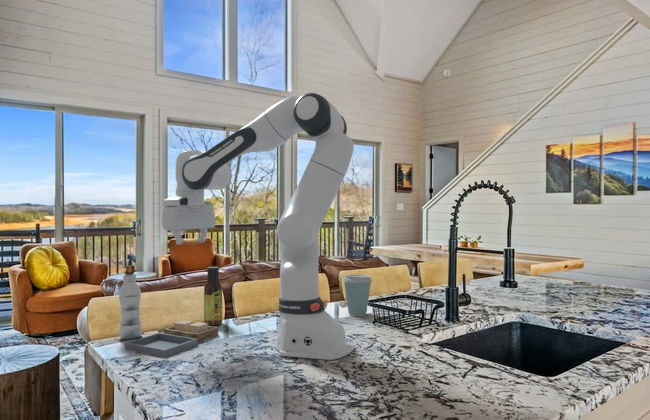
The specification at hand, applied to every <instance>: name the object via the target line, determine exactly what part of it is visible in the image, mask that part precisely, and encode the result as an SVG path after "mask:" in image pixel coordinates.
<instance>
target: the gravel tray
mask: <svg viewBox="0 0 650 420" xmlns="http://www.w3.org/2000/svg"><path fill="white" fill-rule="evenodd" d="M198 344H199V342H198V339H195V338H189V337H183V336H176V335H170V334H164V332H163V333H161V332H157V333H153V334H150V335H147V336H143V337H139V338H137V339H133V340H129V341H126V342H125V343H124V350H127V351H131V352H132V351H133V352H136V353H141V354H146V355H152V356H157V357H161V358H162V357H163V358H167V357H170V356H172V355H176V354H178V353H181V352H183V351H186V350H188V349H189V350H190V349H192V348H194V347H197V346H198Z"/></svg>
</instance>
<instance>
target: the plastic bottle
mask: <svg viewBox="0 0 650 420" xmlns="http://www.w3.org/2000/svg"><path fill="white" fill-rule="evenodd" d="M122 277H123V278H122V282H123V284H122V285H121V286H120V288H119V290H118V300H119V307H120V322H119V323H120V325H119V329H118V330H119V331H118V333H119V334H118V335H119V337H120V339H121V340H122V341H133V340H136V339H140V338H141V335H142V334H143V333H142V332H143V327H142V322H141V316H140V315H141V314H140V313H141V312H140V308H141V307H140V303H141V294H142V290H141V287H140V286H139V285H138V283H137V282H136V281H137V274H135V273H131V274H130V273H129V274H123V275H122Z"/></svg>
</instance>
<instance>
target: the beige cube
mask: <svg viewBox="0 0 650 420" xmlns="http://www.w3.org/2000/svg"><path fill="white" fill-rule="evenodd" d="M193 323H194V321H193V320H187V319H186V320H184V319H183V320H180V321H178V322H175V323H174V326H175V330H177V331H183V332H189V325H190V324H193Z"/></svg>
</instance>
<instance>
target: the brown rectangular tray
mask: <svg viewBox="0 0 650 420" xmlns="http://www.w3.org/2000/svg"><path fill="white" fill-rule="evenodd" d="M163 333H164V334H170V335H176V336H183V337H189V338H195V339H198V343H200V342H203V341H206V340H209V339H211V338H214V337H217V336H219V327H218V326H211V325H208V330H207V331H204V332H201V333H198V334H196V333H190V332H183V331H177V330H175V325H174V326H171V327H170V326H169V327H167V328H164V329H163Z"/></svg>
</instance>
